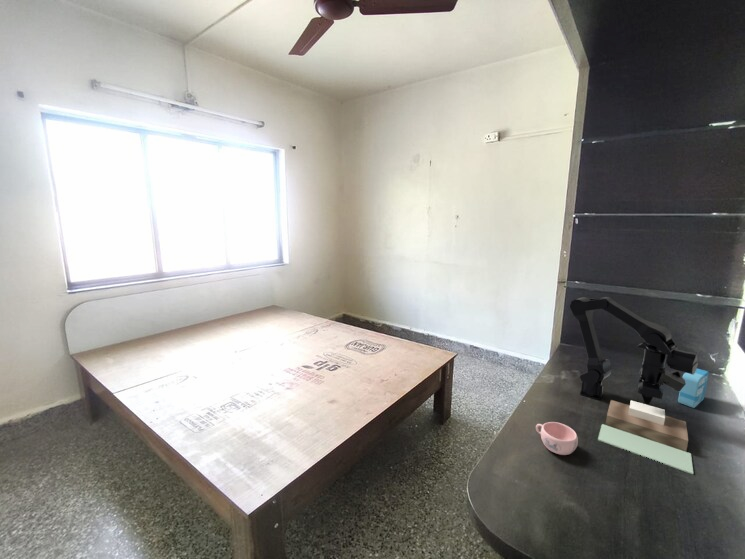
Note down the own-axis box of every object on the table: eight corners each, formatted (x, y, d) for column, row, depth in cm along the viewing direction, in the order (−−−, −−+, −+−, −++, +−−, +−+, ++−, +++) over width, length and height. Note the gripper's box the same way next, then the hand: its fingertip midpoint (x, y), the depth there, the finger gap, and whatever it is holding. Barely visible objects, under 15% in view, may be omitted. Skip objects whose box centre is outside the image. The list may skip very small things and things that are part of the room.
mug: (581, 449, 100) (583, 432, 99) (568, 464, 94) (570, 446, 93) (542, 429, 110) (543, 414, 109) (527, 442, 104) (528, 426, 103)
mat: (597, 440, 104) (597, 439, 104) (601, 424, 112) (602, 423, 112) (693, 474, 90) (693, 473, 90) (690, 454, 98) (690, 453, 97)
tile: (628, 414, 111) (629, 407, 110) (629, 406, 115) (630, 400, 115) (663, 425, 105) (664, 418, 104) (663, 416, 109) (664, 409, 109)
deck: (605, 425, 111) (606, 415, 110) (609, 409, 120) (610, 399, 119) (685, 452, 98) (688, 440, 98) (683, 432, 107) (685, 421, 106)
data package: (693, 409, 120) (699, 379, 117) (677, 403, 123) (682, 374, 121) (704, 399, 126) (709, 370, 123) (688, 394, 130) (693, 366, 127)
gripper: (687, 380, 100) (679, 426, 103) (684, 359, 114) (676, 400, 117) (641, 370, 107) (634, 412, 110) (642, 351, 121) (636, 390, 124)
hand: (646, 403), depth 115 cm, fingers closed
